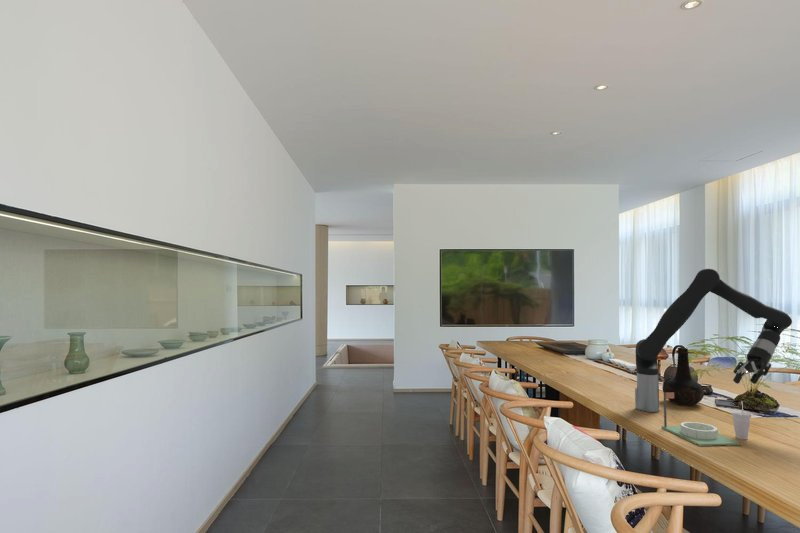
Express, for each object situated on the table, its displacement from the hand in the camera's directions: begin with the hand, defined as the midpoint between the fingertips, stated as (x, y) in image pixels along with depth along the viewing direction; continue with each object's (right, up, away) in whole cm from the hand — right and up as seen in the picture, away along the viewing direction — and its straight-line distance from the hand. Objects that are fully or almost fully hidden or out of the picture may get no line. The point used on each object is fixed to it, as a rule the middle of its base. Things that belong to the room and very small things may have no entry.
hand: (744, 382), depth 191 cm
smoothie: (-9, -19, -11) cm, 24 cm away
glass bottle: (0, -21, +42) cm, 47 cm away
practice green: (-25, -19, -9) cm, 33 cm away
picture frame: (+25, -22, +37) cm, 50 cm away
